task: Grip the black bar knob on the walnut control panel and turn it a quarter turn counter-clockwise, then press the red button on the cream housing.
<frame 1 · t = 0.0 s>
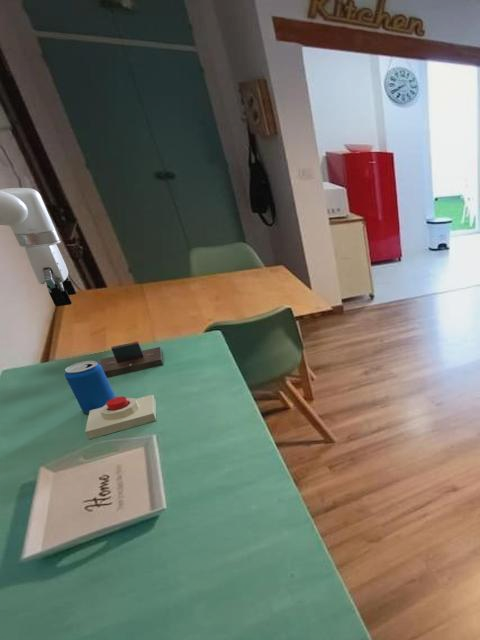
hand: (66, 299, 116), 20 cm above the table, tool pointing down, fingers open, 9 cm apart
housing: (124, 419, 101), on the table
beverage can: (101, 408, 105), on the table
knob: (127, 351, 122), point 4 cm above the table, hinge at 0.0°
panel: (133, 364, 124), on the table
button: (117, 403, 99), point 5 cm above the table, slide at 0.2 cm
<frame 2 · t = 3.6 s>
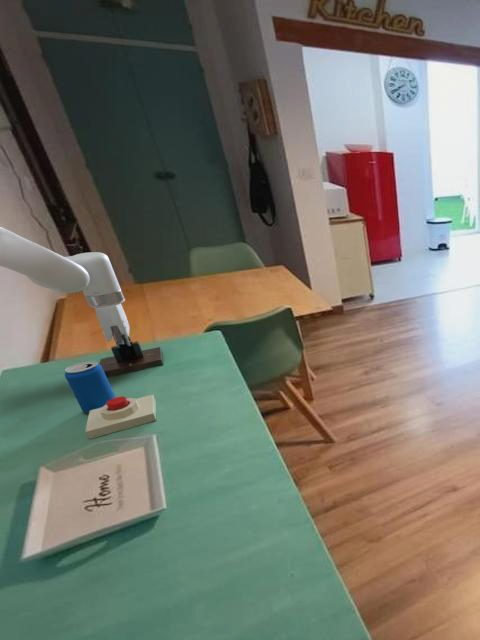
hand: (129, 356, 123), 3 cm above the table, tool pointing down, fingers closed on knob
knob: (127, 351, 122), point 4 cm above the table, hinge at 0.0°, touching gripper
everything else where it was.
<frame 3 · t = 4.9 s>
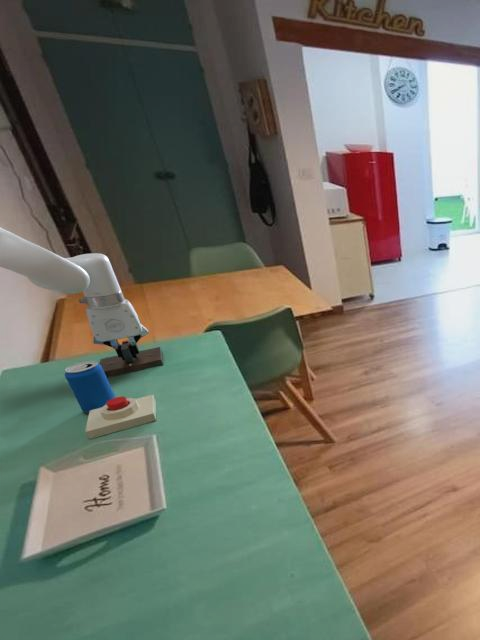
hand: (130, 357, 123), 3 cm above the table, tool pointing down, fingers closed
knob: (127, 351, 122), point 4 cm above the table, hinge at 89.4°
everything else where it was.
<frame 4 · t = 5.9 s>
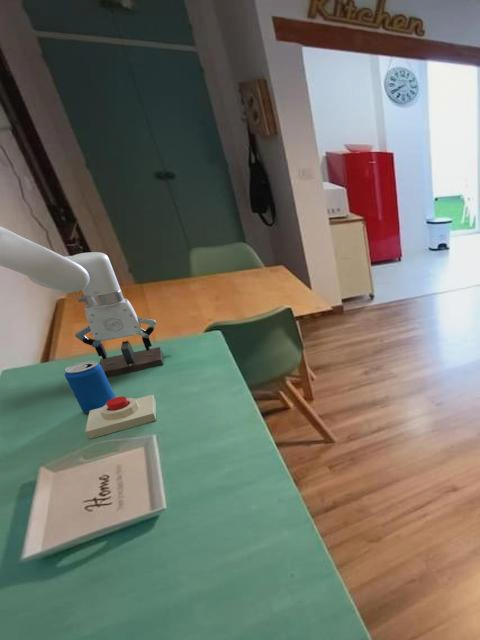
hand: (127, 353, 122), 4 cm above the table, tool pointing down, fingers open, 9 cm apart
nothing on the table moved.
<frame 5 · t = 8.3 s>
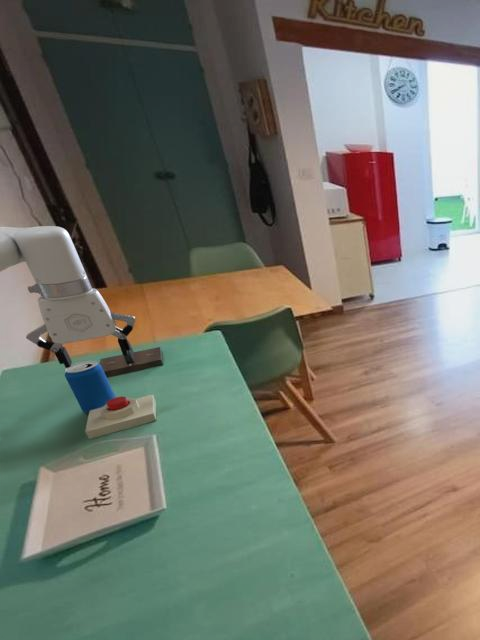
hand: (98, 359, 95), 16 cm above the table, tool pointing down, fingers open, 9 cm apart
nothing on the table moved.
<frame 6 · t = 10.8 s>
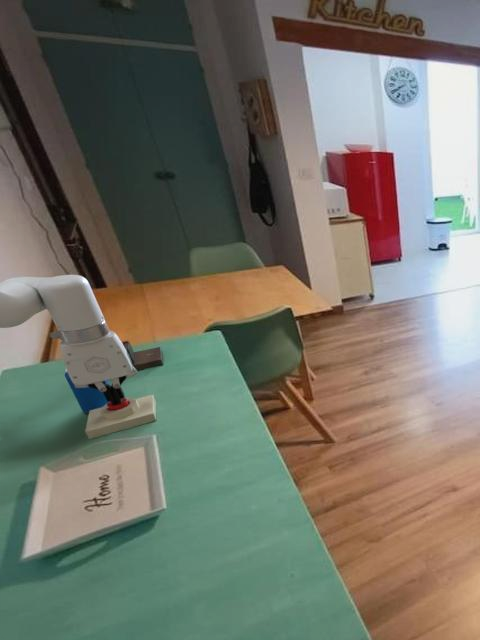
hand: (117, 401, 99), 5 cm above the table, tool pointing down, fingers closed
button: (118, 405, 99), point 4 cm above the table, slide at -0.2 cm, touching gripper
everything else where it was.
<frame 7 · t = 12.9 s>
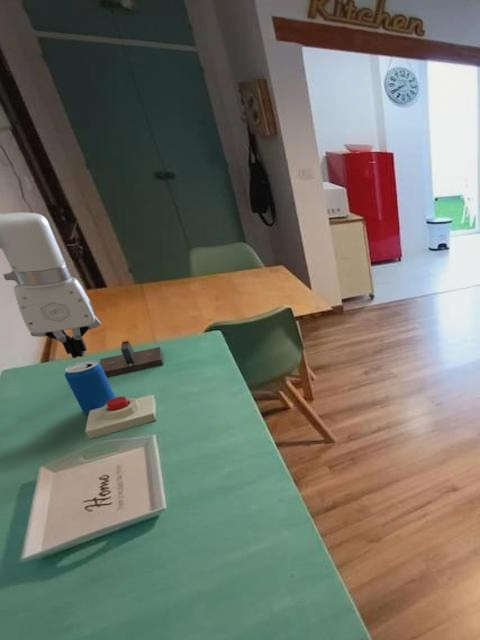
hand: (78, 354, 93), 18 cm above the table, tool pointing down, fingers closed
button: (117, 403, 99), point 5 cm above the table, slide at 0.1 cm
everything else where it was.
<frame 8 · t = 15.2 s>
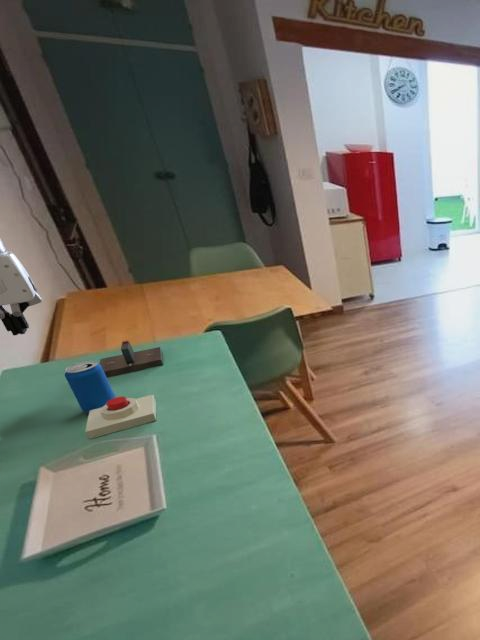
hand: (20, 332, 91), 23 cm above the table, tool pointing down, fingers closed
nothing on the table moved.
at the end: knob at +89° (first picture: +0°); button pushed in 1.1 cm at the most during the clip, back to where it started at the end; button slide at 0.1 cm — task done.
